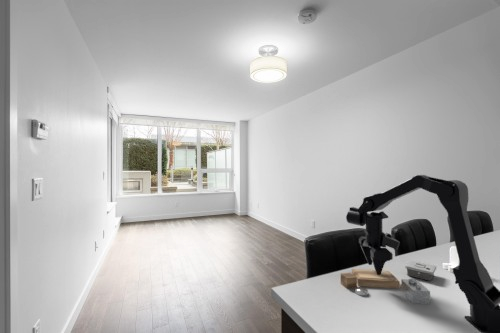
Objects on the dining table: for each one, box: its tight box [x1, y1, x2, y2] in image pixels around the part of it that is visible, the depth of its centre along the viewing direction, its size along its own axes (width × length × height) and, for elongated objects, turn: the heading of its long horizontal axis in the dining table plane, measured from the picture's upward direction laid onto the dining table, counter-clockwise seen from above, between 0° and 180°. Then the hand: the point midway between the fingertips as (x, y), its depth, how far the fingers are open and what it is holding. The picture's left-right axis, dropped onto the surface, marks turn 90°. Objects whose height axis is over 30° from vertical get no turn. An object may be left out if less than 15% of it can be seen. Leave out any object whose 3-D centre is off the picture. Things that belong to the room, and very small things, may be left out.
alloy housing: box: [400, 278, 431, 305], centre depth 82 cm, size 8×5×5 cm, turn 171°
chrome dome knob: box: [354, 286, 369, 297], centre depth 85 cm, size 4×4×2 cm
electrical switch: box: [404, 259, 437, 282], centre depth 98 cm, size 9×5×9 cm
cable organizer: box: [442, 245, 459, 274], centre depth 103 cm, size 5×10×10 cm, turn 84°
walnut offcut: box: [340, 272, 358, 290], centre depth 90 cm, size 4×4×4 cm
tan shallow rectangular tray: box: [351, 268, 400, 289], centre depth 93 cm, size 9×14×3 cm, turn 81°
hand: (374, 269), depth 93 cm, fingers open, 9 cm apart
